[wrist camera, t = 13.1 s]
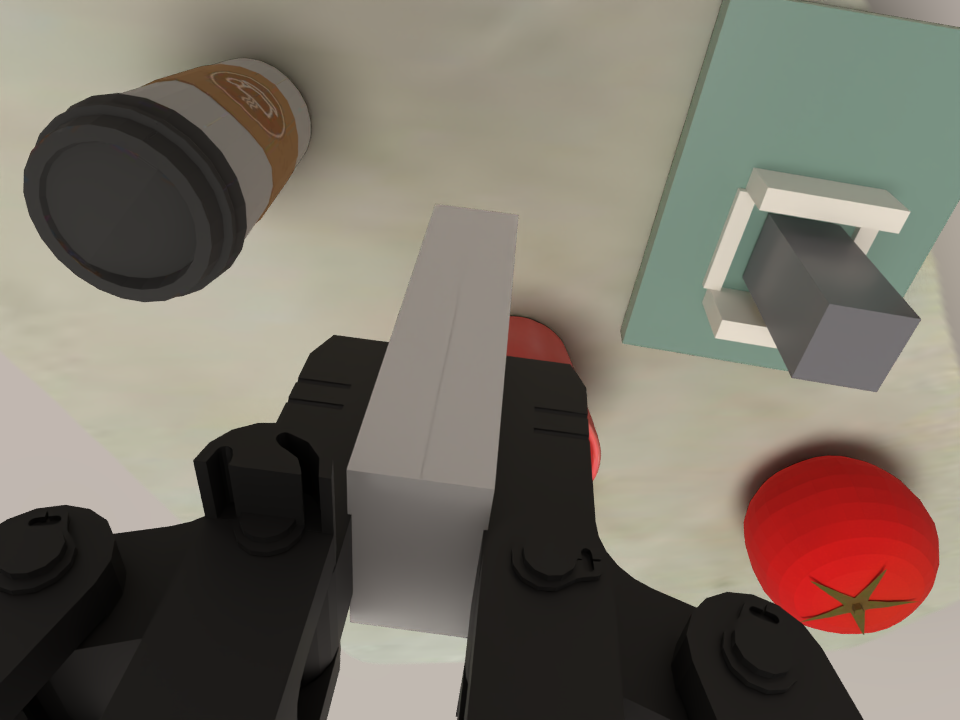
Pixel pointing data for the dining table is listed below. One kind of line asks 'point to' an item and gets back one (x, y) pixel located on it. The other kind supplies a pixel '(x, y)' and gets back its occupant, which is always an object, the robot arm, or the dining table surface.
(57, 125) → the coffee cup
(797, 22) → the board
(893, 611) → the tomato
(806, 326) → the plug
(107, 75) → the dining table surface
